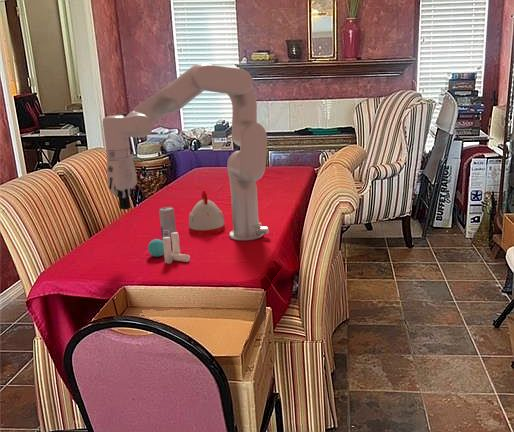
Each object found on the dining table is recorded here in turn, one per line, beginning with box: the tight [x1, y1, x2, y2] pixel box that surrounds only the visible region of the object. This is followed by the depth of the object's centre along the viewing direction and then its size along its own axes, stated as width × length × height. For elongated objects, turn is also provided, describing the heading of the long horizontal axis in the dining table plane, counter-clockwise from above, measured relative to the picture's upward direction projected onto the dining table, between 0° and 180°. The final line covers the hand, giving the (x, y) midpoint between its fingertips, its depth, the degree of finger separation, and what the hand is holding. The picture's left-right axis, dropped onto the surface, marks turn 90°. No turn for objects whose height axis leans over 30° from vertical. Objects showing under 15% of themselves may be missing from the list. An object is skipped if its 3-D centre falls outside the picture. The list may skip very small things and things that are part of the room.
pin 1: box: [162, 237, 174, 265], centre depth 182 cm, size 2×2×8 cm
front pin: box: [163, 252, 191, 263], centre depth 185 cm, size 2×2×8 cm
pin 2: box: [171, 231, 181, 254], centre depth 187 cm, size 2×2×8 cm
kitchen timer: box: [188, 190, 226, 235], centre depth 216 cm, size 14×14×15 cm
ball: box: [147, 238, 164, 258], centre depth 189 cm, size 6×6×6 cm
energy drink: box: [158, 206, 177, 242], centre depth 205 cm, size 5×5×12 cm
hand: (125, 208), depth 186 cm, fingers closed
